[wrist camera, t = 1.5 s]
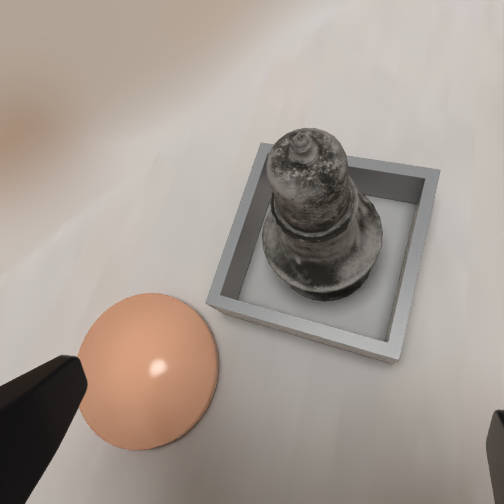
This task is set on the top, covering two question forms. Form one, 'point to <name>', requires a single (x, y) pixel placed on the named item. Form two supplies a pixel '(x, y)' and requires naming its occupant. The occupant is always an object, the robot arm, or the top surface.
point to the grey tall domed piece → (318, 218)
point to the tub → (367, 182)
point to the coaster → (147, 371)
